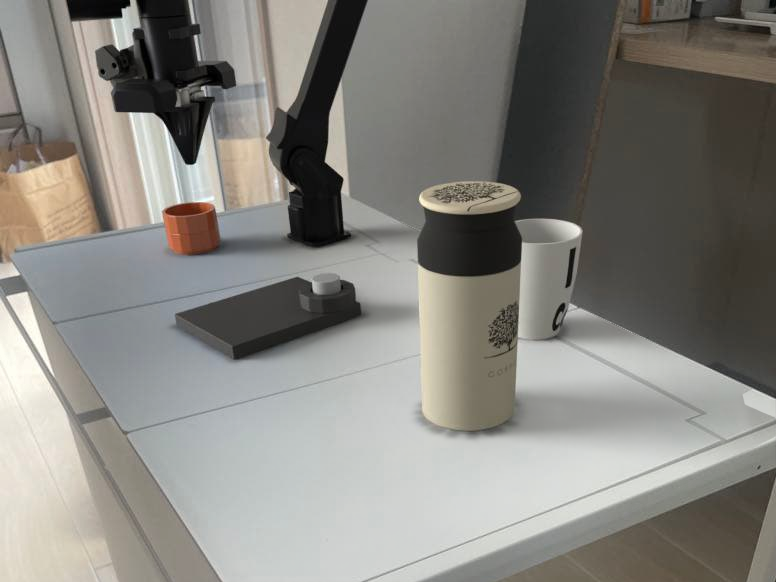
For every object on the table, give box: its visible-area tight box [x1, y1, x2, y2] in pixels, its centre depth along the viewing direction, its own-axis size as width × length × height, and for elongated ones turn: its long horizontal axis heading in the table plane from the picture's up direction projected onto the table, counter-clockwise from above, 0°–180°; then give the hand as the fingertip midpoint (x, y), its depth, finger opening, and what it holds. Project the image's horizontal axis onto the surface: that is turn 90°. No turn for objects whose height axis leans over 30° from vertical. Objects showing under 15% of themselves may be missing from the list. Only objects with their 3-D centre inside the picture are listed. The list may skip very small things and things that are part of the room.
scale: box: [174, 276, 362, 360], centre depth 90 cm, size 16×12×3 cm
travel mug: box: [416, 180, 522, 432], centre depth 67 cm, size 8×8×18 cm
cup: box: [514, 218, 583, 341], centre depth 83 cm, size 8×8×10 cm
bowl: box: [161, 201, 222, 256], centre depth 111 cm, size 7×7×5 cm
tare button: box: [311, 272, 341, 295], centre depth 89 cm, size 3×3×2 cm
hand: (190, 164), depth 103 cm, fingers closed
